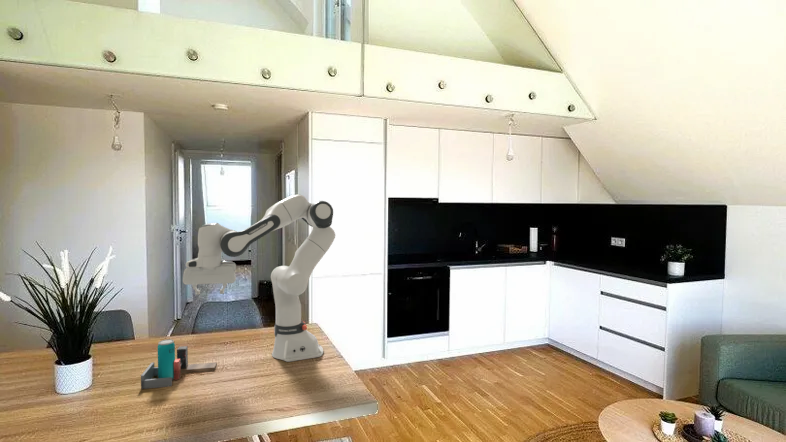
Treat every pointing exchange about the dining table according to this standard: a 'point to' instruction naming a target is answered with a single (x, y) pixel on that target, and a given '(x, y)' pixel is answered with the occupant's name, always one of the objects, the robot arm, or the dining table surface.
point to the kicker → (180, 361)
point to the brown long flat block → (199, 367)
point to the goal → (153, 383)
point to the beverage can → (166, 358)
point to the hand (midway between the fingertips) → (210, 294)
